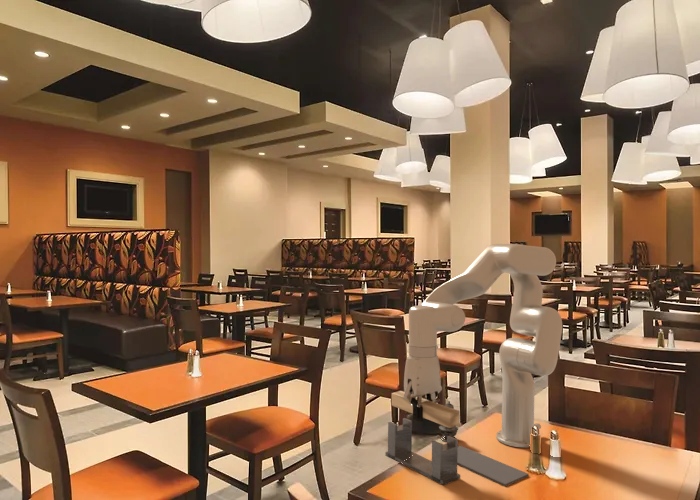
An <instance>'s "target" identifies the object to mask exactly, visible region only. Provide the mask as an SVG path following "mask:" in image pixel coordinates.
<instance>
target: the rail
mask: <svg viewBox="0 0 700 500" xmlns="http://www.w3.org/2000/svg"><path fill="white" fill-rule="evenodd" d="M404 394H405V391H404V390H398V391H395V392H391V406H392V407H395V408H397V409H399V410H403V411H405V412H407V413H409V414H412V415H413V405H411V403H410V402H409V401H408V400H407V399H405V398H404ZM411 396H412V394H411ZM416 400H417V397H416ZM421 407H423V419H426V420H429V421H431V422H434V423H436V424H438V425H440V426H441V425H443V426H446V427H449V428H451V427H454V426H456V427H458V426H459V425H460V410H457V409H455V408H454V409H453V408H450V407H447V406H445V404H440V403H439V402H432V401H429V400H426V398H423V397H422V401H421Z"/></svg>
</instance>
